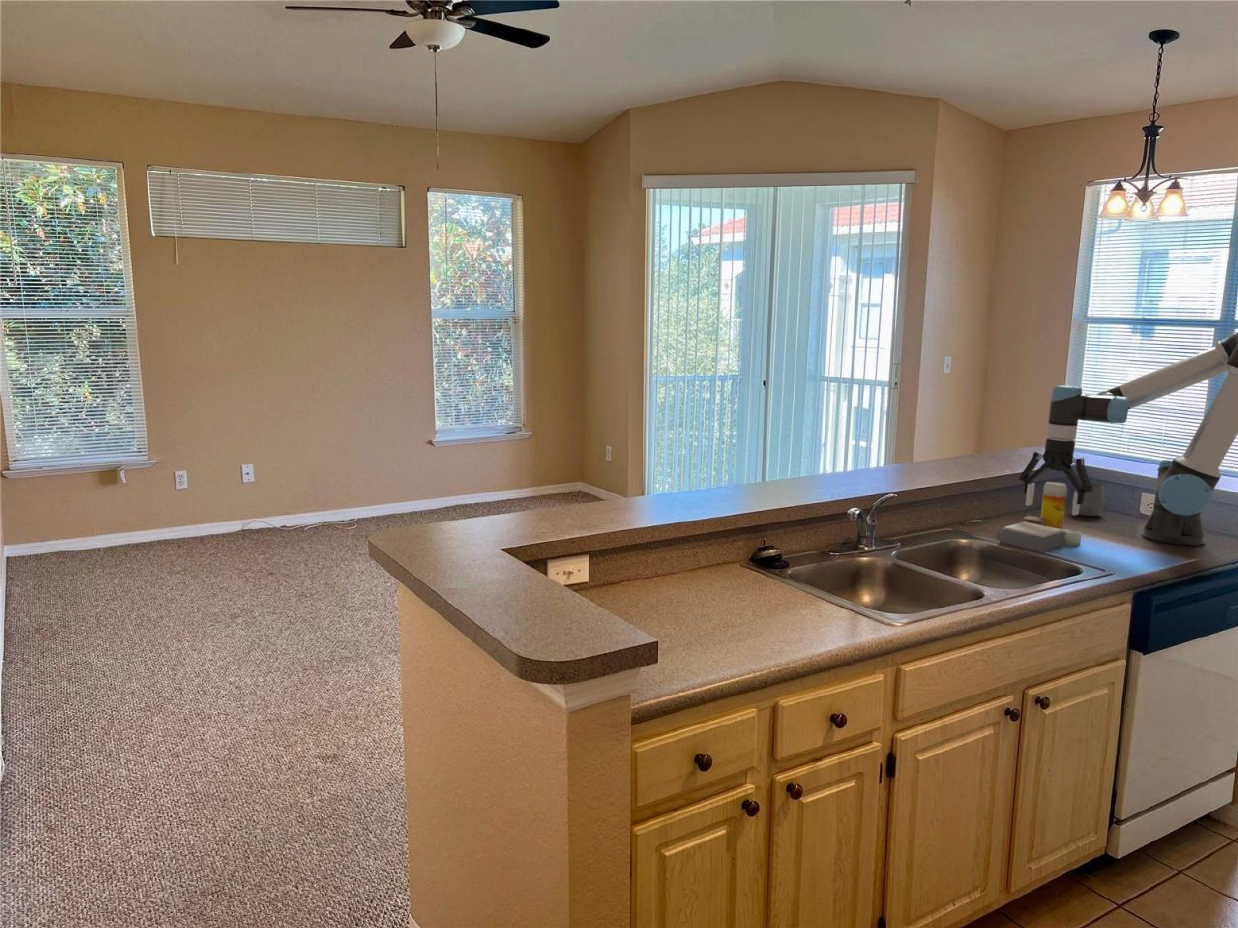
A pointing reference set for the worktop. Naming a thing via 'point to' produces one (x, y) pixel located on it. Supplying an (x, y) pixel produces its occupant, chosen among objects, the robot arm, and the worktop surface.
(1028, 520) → the walnut block
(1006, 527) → the podium
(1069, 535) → the cream short cylinder
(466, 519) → the worktop surface
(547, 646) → the worktop surface
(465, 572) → the worktop surface
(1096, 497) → the cup
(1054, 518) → the glass of beer
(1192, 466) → the robot arm
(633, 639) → the worktop surface
